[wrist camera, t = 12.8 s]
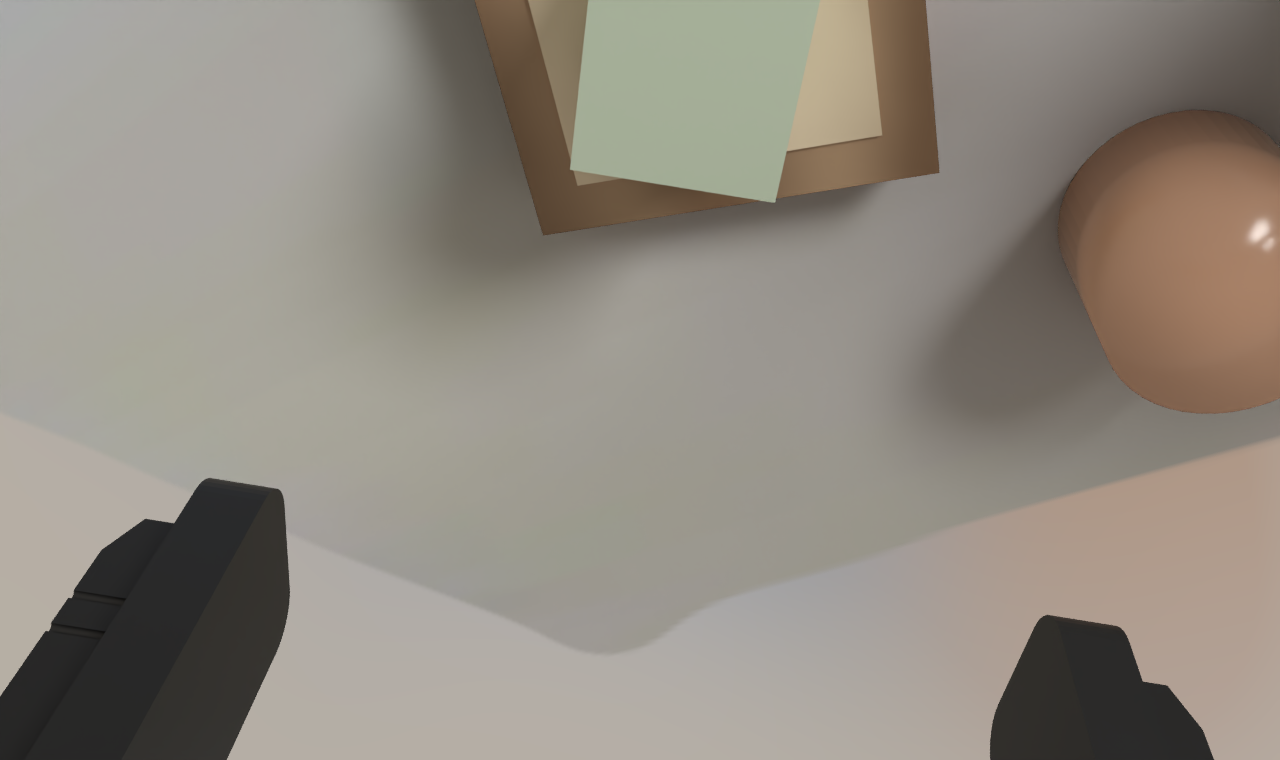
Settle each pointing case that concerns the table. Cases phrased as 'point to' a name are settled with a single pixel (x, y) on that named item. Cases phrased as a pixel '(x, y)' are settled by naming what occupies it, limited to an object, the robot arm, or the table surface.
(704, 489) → the table surface
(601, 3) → the sage block
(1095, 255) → the tan rounded block
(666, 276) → the table surface
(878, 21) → the walnut base
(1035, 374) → the table surface
